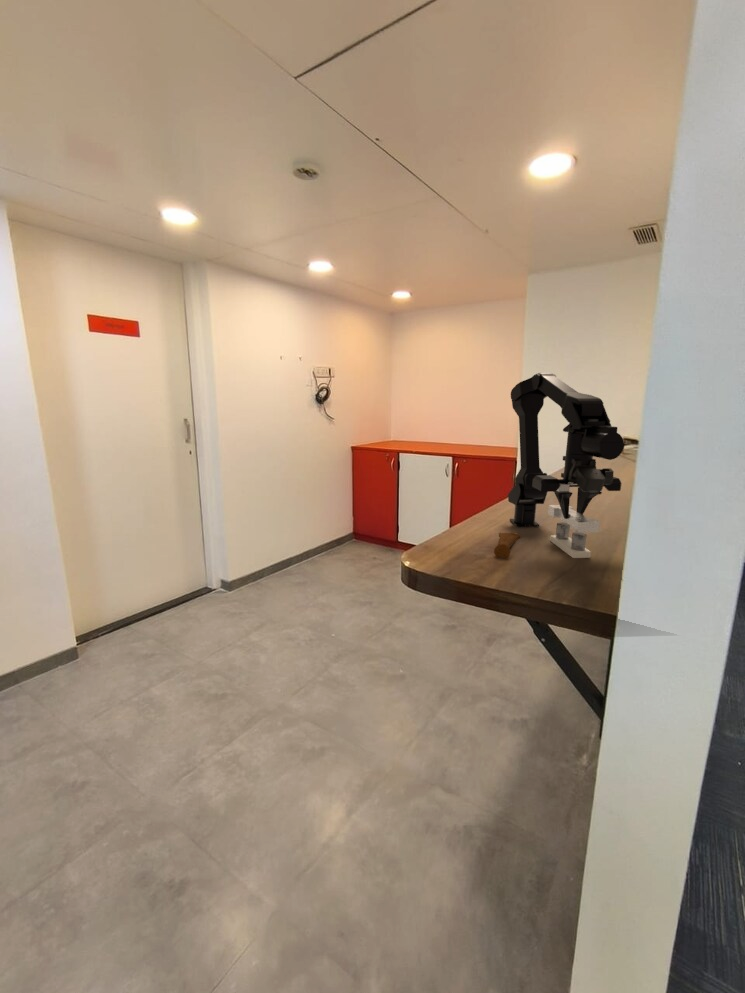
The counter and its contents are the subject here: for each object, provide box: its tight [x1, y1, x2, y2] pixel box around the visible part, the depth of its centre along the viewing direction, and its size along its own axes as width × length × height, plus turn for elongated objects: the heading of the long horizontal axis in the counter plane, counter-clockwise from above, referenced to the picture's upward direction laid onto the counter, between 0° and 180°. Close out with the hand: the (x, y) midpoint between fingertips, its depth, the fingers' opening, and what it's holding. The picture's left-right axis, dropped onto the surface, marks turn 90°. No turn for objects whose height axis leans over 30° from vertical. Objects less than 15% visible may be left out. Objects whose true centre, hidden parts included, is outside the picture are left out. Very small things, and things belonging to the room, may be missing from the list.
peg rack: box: [549, 521, 592, 559], centre depth 107 cm, size 12×4×5 cm, turn 3°
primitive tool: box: [493, 532, 521, 559], centre depth 110 cm, size 19×6×4 cm, turn 160°
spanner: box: [547, 504, 601, 534], centre depth 106 cm, size 5×15×2 cm, turn 3°
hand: (572, 518), depth 106 cm, fingers closed on spanner, 3 cm apart
